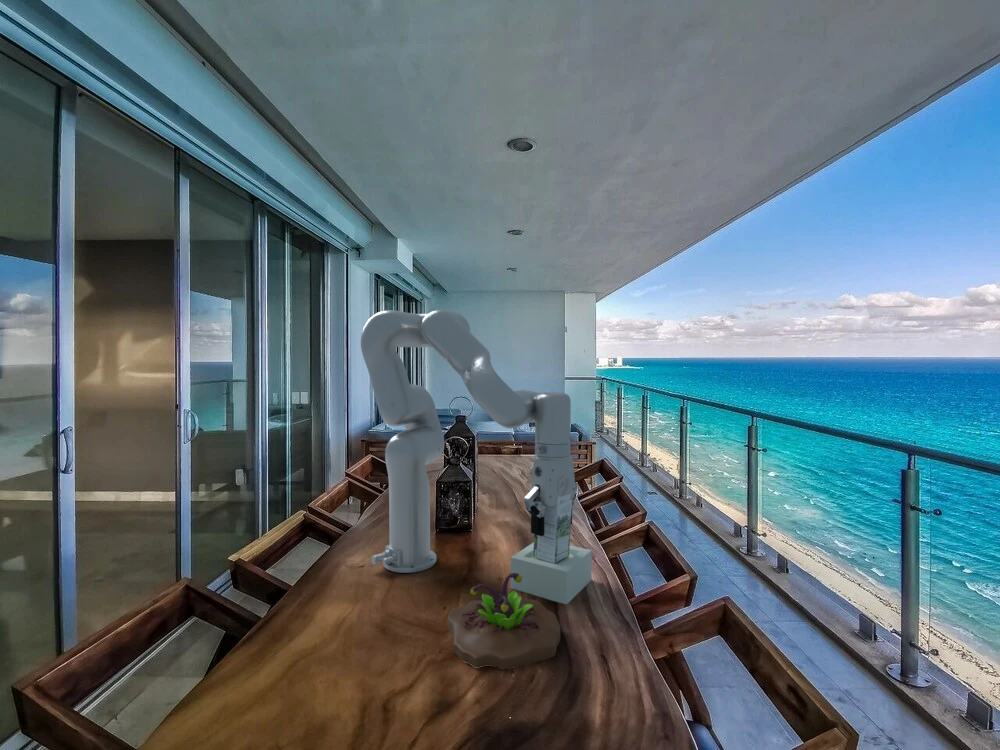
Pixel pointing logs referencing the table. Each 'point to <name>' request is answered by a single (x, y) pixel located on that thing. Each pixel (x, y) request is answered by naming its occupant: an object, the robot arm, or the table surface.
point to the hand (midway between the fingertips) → (552, 528)
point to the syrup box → (555, 532)
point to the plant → (503, 629)
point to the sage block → (552, 574)
